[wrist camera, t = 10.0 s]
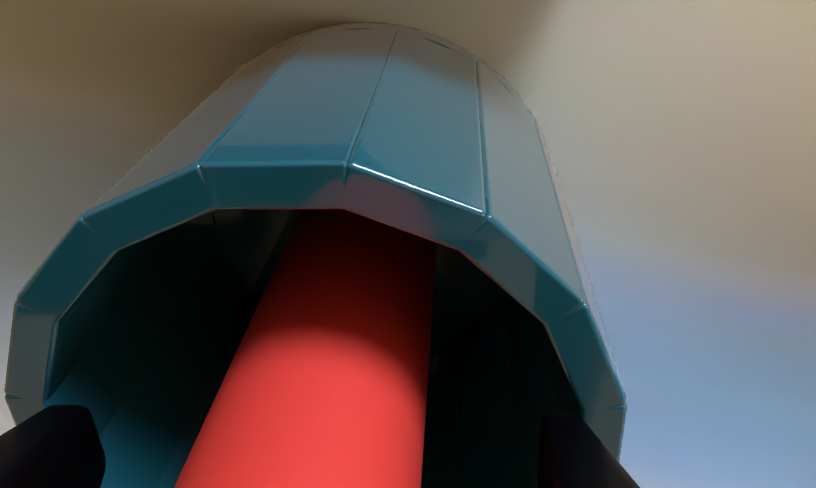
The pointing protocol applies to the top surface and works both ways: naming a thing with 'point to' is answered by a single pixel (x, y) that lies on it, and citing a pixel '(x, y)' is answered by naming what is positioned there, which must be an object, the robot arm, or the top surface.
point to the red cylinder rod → (328, 366)
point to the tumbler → (270, 230)
